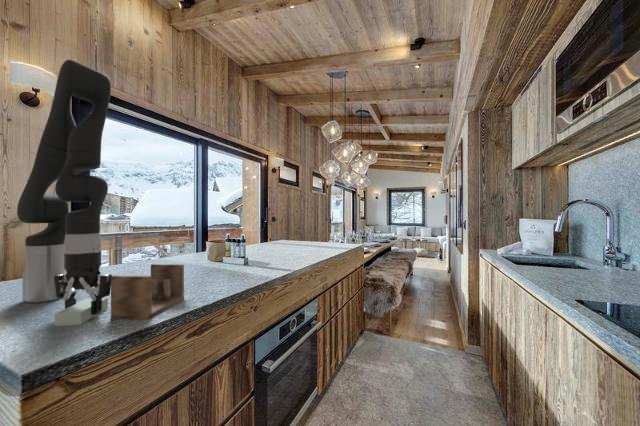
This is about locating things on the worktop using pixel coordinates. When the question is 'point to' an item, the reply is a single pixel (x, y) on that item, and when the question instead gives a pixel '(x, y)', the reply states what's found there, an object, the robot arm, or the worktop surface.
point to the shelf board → (77, 313)
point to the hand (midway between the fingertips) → (83, 313)
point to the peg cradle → (147, 292)
